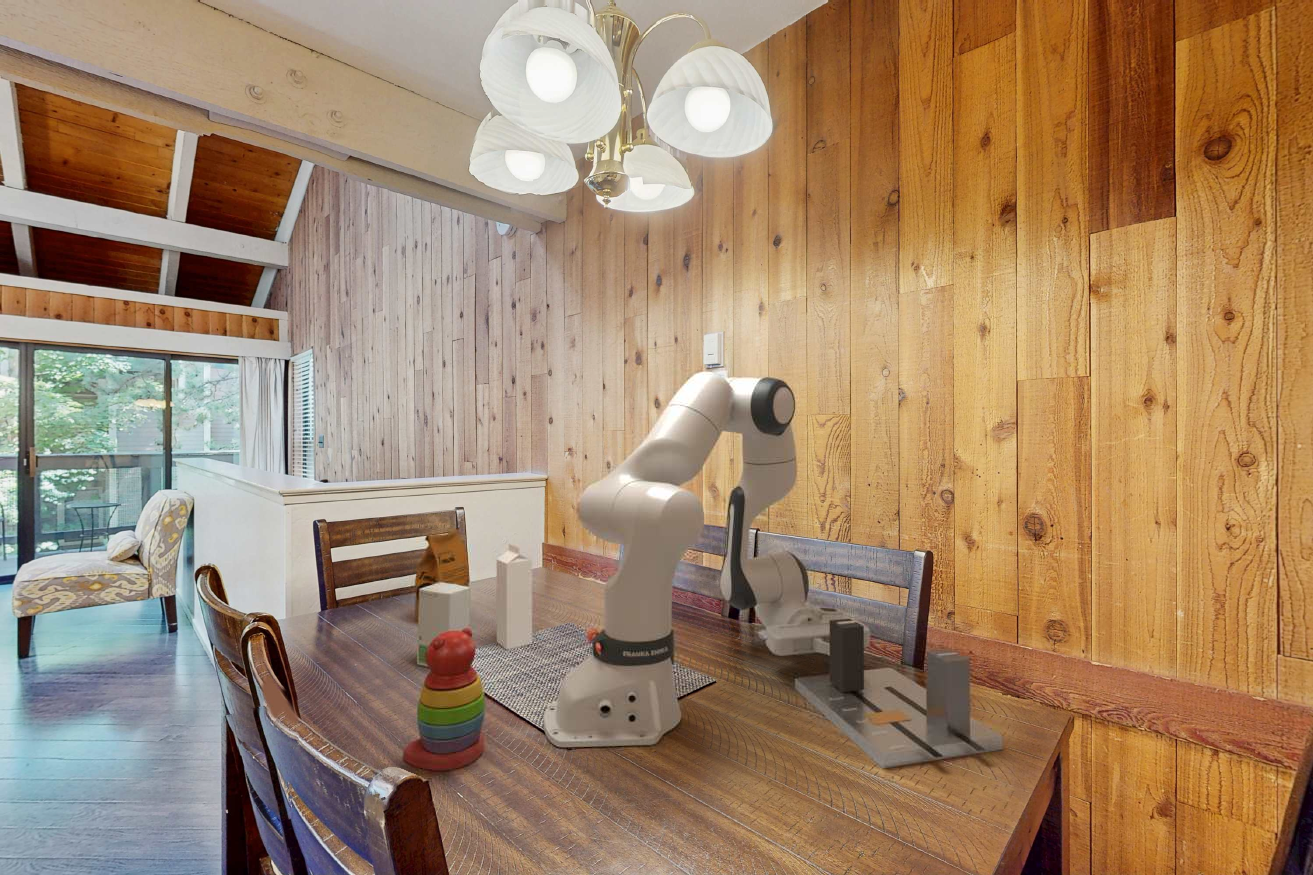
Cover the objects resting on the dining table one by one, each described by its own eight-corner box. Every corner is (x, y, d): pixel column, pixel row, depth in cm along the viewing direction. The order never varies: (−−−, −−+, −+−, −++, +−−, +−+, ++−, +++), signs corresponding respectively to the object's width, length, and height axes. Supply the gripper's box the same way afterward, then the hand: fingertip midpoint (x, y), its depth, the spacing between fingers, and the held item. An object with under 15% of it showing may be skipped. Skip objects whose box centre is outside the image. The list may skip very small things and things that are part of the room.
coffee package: (408, 622, 144) (408, 534, 144) (445, 609, 155) (445, 527, 155) (438, 628, 140) (437, 537, 140) (474, 613, 151) (474, 530, 151)
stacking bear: (464, 727, 92) (463, 615, 92) (502, 748, 85) (502, 629, 85) (397, 756, 83) (397, 633, 83) (434, 782, 77) (434, 650, 77)
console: (894, 778, 78) (894, 681, 78) (795, 689, 105) (794, 617, 105) (1016, 758, 82) (1016, 666, 82) (890, 677, 110) (890, 608, 110)
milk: (506, 650, 125) (506, 549, 125) (496, 642, 130) (495, 544, 130) (532, 643, 129) (532, 545, 129) (521, 636, 134) (520, 541, 133)
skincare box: (416, 665, 117) (416, 588, 117) (439, 654, 123) (439, 581, 123) (448, 671, 113) (448, 592, 113) (471, 659, 120) (471, 584, 120)
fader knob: (843, 692, 99) (843, 626, 99) (829, 681, 103) (829, 619, 103) (863, 689, 100) (863, 625, 100) (849, 679, 104) (849, 617, 104)
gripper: (754, 615, 114) (786, 639, 101) (845, 608, 119) (887, 629, 106) (754, 647, 114) (786, 674, 101) (845, 638, 119) (887, 663, 106)
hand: (839, 651), depth 104 cm, fingers closed, pressing on fader knob
